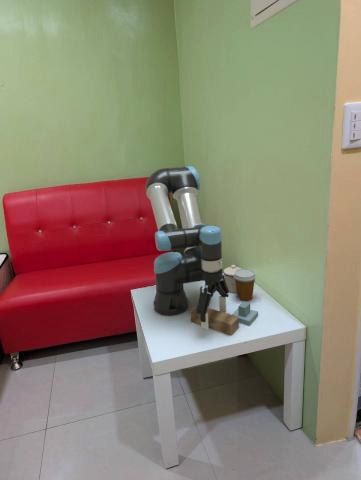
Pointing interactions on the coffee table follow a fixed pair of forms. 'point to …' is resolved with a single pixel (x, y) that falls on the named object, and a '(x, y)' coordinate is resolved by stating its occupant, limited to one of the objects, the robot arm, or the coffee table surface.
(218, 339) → the coffee table surface
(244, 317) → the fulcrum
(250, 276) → the disposable coffee cup
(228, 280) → the teacup with lid
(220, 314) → the batten
